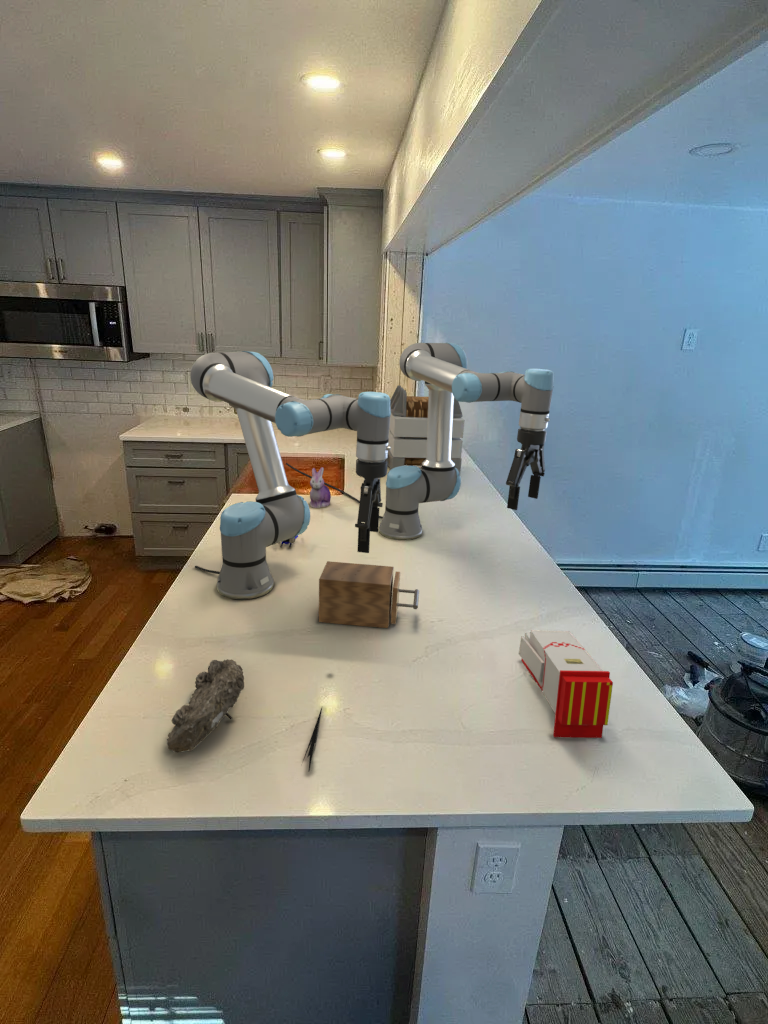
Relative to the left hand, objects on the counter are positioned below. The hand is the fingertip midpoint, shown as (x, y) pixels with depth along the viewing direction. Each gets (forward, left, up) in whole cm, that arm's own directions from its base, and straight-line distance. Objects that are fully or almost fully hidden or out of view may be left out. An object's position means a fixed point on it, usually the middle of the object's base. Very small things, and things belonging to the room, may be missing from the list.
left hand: (368, 541), depth 142 cm
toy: (+50, -14, -20) cm, 55 cm away
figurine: (-50, +68, -20) cm, 87 cm away
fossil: (-10, -50, -20) cm, 55 cm away
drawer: (+4, -2, -19) cm, 19 cm away
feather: (+9, -42, -20) cm, 47 cm away
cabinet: (-1, -3, -20) cm, 20 cm away
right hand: (+32, +35, +5) cm, 47 cm away
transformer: (-30, +132, -20) cm, 137 cm away
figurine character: (-42, +30, -20) cm, 55 cm away
